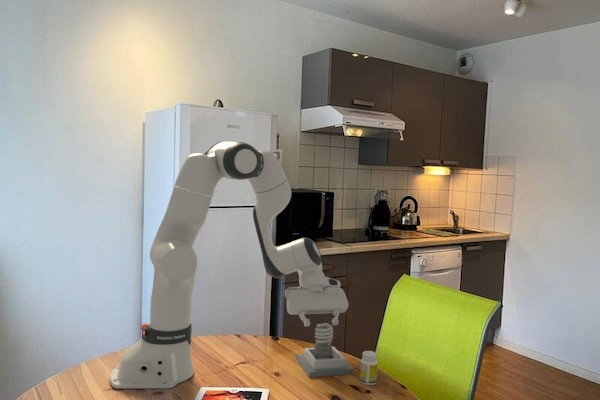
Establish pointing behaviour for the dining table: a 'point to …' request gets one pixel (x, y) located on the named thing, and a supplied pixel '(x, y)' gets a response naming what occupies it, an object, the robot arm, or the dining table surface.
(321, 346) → the light bulb
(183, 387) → the dining table surface
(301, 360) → the bulb socket
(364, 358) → the supplement bottle
